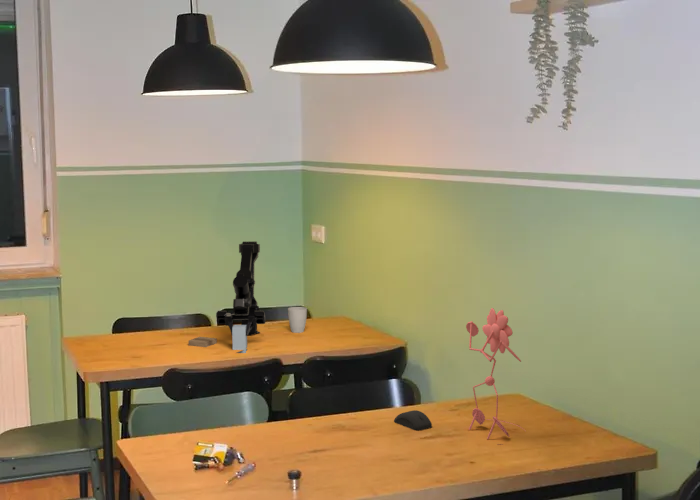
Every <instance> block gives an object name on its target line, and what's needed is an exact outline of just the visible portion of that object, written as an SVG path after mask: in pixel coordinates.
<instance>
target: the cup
mask: <svg viewBox="0 0 700 500" xmlns="http://www.w3.org/2000/svg"><path fill="white" fill-rule="evenodd" d="M287 314H288V315H287V316H288V323H289V328H290V330H291V333H294V334H301V333H304V332H305V327H306V324H307V317H308V315H307V314H308V308H307V307H304V306H290V307H288V308H287Z"/></svg>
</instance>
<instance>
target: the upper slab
mask: <svg viewBox="0 0 700 500" xmlns="http://www.w3.org/2000/svg"><path fill="white" fill-rule="evenodd" d="M187 342H188V347H189V346H190V347H199V348H202V347H203V348H208V347H211V346H213V345H216V344H217V343H218V338H216V337H207V336H206V337H205V336H197V337H195V338H191V339H189V340H188V341H187Z"/></svg>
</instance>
